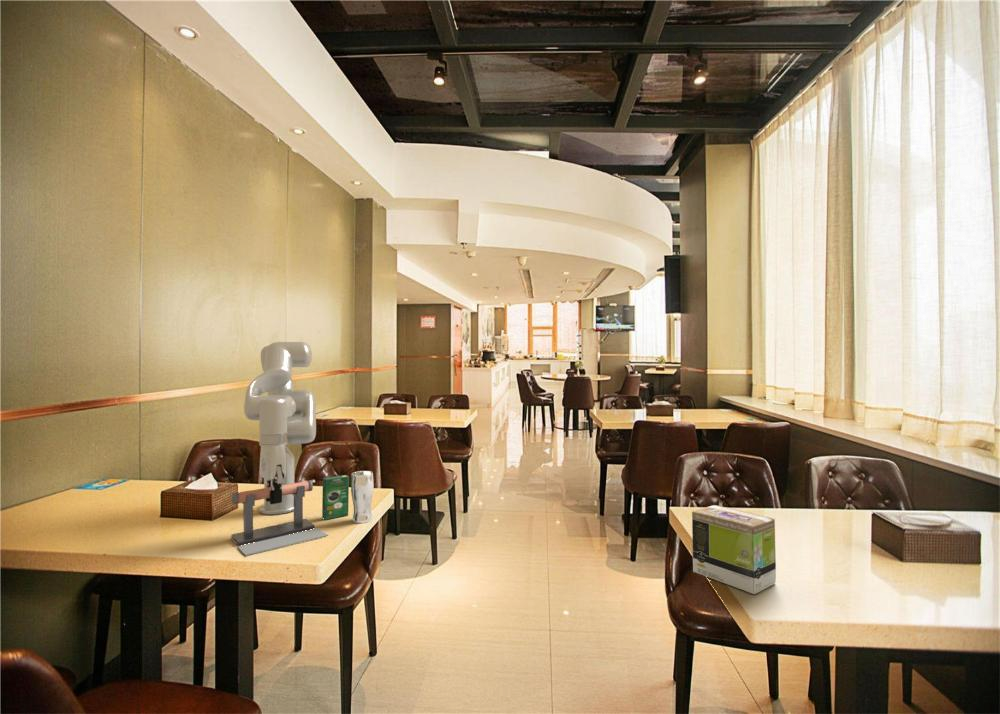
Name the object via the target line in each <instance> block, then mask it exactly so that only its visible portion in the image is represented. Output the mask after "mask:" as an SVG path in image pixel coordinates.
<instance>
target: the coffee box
mask: <svg viewBox="0 0 1000 714" xmlns="http://www.w3.org/2000/svg"><path fill="white" fill-rule="evenodd" d="M349 485H350V476H349V475H346V474H344V475H343V474H342V475H336V476H335V475H334V476H330V477H329V476H328V477H323V478H322V498H321V499H322V500H321V501H322V503H321V504H322V508H321V509H322V510H321V512H322V516H321V518H322V519H323V518H324V519H325V520H324V519H323V520H324V521H326V520H332V519H337V518H341V517H347V516H349V502H350V501H349V493H350V489H349V488H350V487H349Z"/></svg>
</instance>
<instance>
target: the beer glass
mask: <svg viewBox="0 0 1000 714" xmlns="http://www.w3.org/2000/svg"><path fill="white" fill-rule="evenodd" d="M374 485H375V484H374V473H373V471H371V470H358V471H354V472H352V473H351V479H350V495H351V499H352V505H353V515H352V522H353V523H354V524H365V523H366V524H367V523H369V522H371V521H372V520H373V514H372V503H373V497H374V496H373V495H374Z"/></svg>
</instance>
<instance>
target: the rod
mask: <svg viewBox="0 0 1000 714" xmlns="http://www.w3.org/2000/svg"><path fill="white" fill-rule="evenodd" d="M303 485H304V486H305V492H312V491H313V489H314V485H313V480H306V481H300V482H294V483H293V484H287V485H282V496H283V495H289V494H295V493H297V486H303ZM270 490H271V487H269V488H264V487H263V488H259V489H257V488H256V489H252V490H245V492H244V491H239V492H233V493H231V503H232V505H238V504H242V503H244V502H246V495H250V494H255V501H260V500H261V501H262V500H264V499H267V498H270Z"/></svg>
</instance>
